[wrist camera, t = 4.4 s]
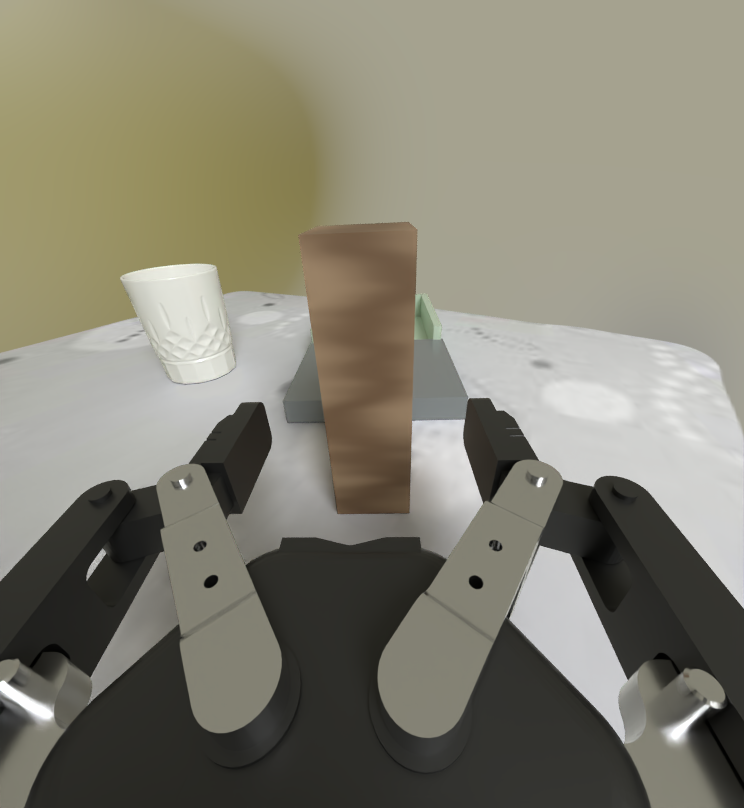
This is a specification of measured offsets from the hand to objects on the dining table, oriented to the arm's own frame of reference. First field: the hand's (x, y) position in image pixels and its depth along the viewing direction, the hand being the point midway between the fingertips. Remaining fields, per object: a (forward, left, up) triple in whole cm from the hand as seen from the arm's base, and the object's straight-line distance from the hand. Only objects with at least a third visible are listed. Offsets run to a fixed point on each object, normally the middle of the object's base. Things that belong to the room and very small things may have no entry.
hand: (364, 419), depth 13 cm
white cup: (-22, +17, -8) cm, 29 cm away
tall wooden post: (-1, +4, -8) cm, 8 cm away
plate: (-3, +16, -8) cm, 18 cm away
